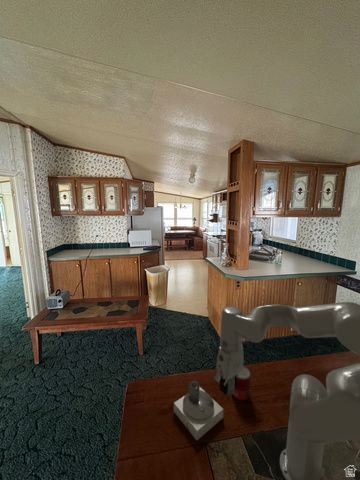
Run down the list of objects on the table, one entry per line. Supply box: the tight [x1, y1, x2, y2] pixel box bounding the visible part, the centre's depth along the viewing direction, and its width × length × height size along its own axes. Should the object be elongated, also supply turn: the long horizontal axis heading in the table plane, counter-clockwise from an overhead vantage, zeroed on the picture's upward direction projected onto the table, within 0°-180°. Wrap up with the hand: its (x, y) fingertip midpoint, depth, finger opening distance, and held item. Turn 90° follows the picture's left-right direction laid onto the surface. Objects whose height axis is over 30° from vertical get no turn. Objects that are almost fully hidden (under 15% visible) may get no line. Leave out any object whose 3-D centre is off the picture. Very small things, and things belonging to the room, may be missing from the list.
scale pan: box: [183, 390, 214, 420], centre depth 85 cm, size 12×12×1 cm
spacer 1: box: [188, 380, 201, 403], centre depth 86 cm, size 4×4×6 cm
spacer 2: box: [222, 376, 235, 396], centre depth 77 cm, size 4×4×6 cm
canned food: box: [231, 366, 251, 401], centre depth 95 cm, size 8×8×11 cm
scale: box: [173, 386, 224, 441], centre depth 85 cm, size 14×14×4 cm
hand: (228, 388), depth 77 cm, fingers closed on spacer 2, 4 cm apart
